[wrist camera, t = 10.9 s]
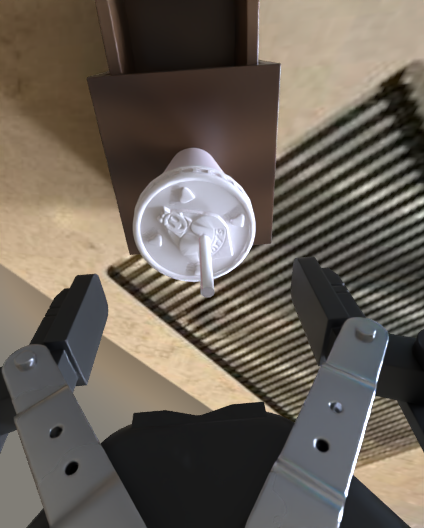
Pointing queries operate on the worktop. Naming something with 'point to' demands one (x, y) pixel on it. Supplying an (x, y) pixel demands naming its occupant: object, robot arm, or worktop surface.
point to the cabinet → (190, 130)
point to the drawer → (178, 34)
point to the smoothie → (194, 221)
